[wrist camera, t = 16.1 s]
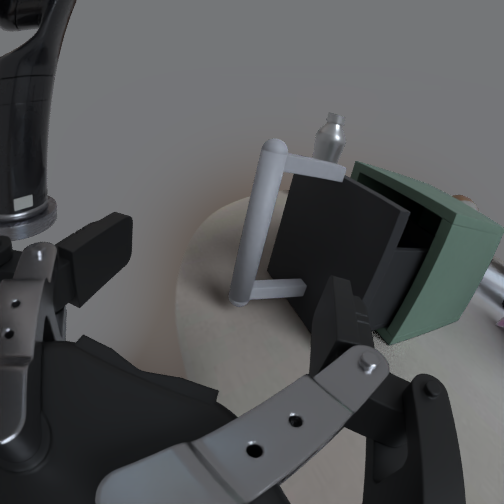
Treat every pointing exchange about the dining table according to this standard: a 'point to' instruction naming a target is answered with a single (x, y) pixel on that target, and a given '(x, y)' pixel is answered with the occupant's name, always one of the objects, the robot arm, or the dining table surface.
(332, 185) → the black drawer with handle
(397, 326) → the green drawer cabinet
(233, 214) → the dining table surface
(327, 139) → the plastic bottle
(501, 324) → the lily
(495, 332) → the dining table surface
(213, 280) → the dining table surface
